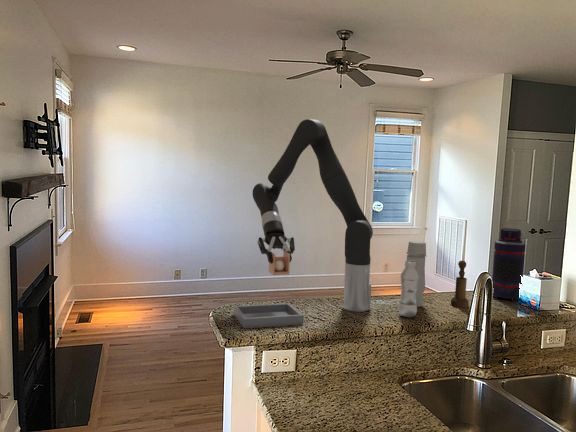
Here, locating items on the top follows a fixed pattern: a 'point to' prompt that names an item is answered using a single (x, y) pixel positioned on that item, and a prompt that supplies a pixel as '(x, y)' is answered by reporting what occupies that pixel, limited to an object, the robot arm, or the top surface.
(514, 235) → the striped lidded canister
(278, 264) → the ball
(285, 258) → the scoop cup
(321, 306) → the top surface
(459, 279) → the wooden pepper mill
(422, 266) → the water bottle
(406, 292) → the plastic bottle
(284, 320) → the tray
